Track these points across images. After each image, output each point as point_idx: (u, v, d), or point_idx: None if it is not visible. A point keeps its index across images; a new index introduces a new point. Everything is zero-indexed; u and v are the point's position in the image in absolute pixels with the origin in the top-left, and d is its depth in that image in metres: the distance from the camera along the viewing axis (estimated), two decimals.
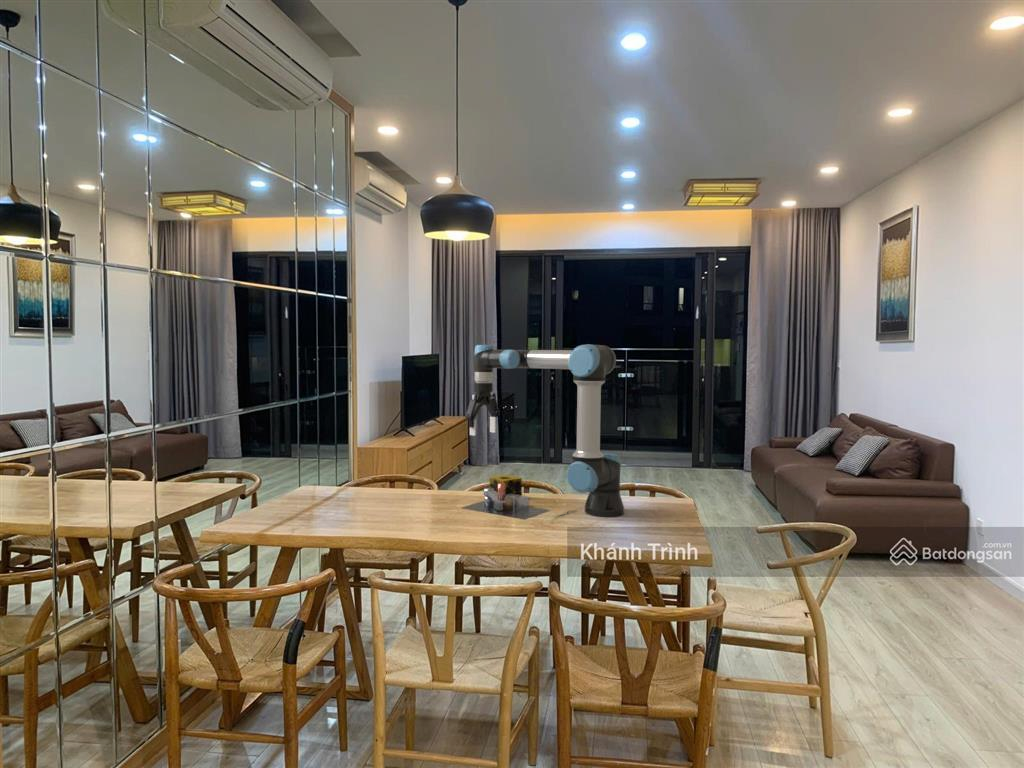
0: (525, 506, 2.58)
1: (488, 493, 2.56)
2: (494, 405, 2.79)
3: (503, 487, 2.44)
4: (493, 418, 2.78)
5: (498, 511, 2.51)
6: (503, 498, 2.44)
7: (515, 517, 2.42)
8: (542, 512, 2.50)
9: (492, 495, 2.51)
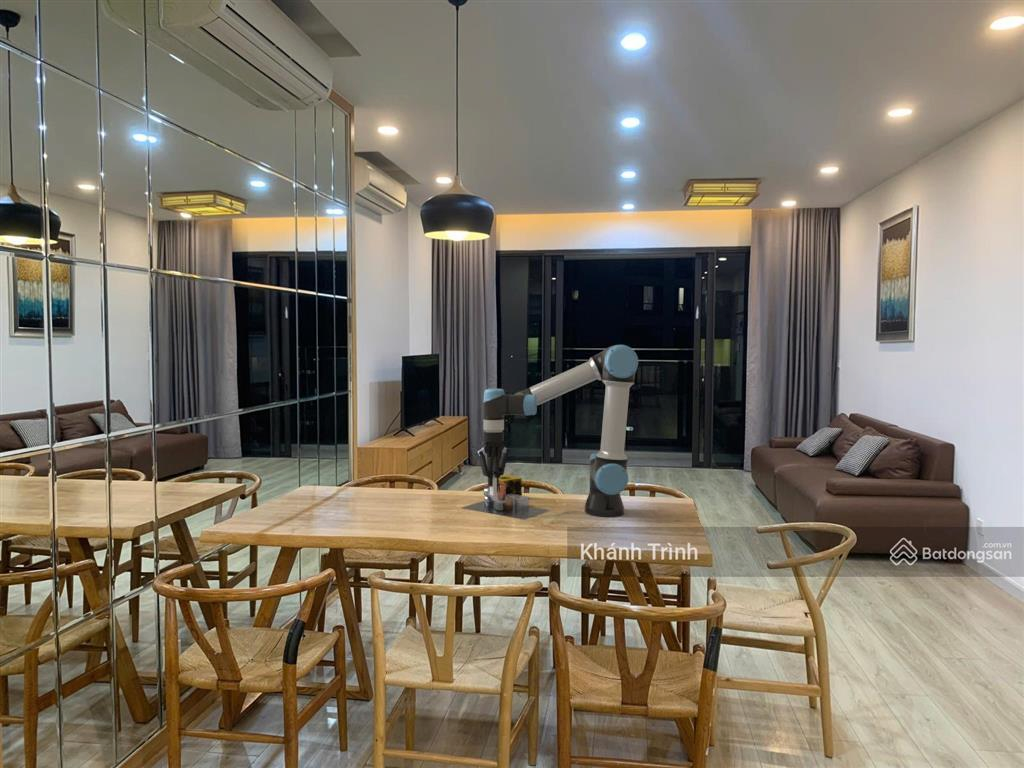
0: (525, 506, 2.58)
1: (488, 493, 2.56)
2: (502, 461, 2.45)
3: (503, 487, 2.44)
4: None
5: (498, 511, 2.51)
6: (503, 498, 2.44)
7: (515, 517, 2.42)
8: (542, 512, 2.50)
9: None
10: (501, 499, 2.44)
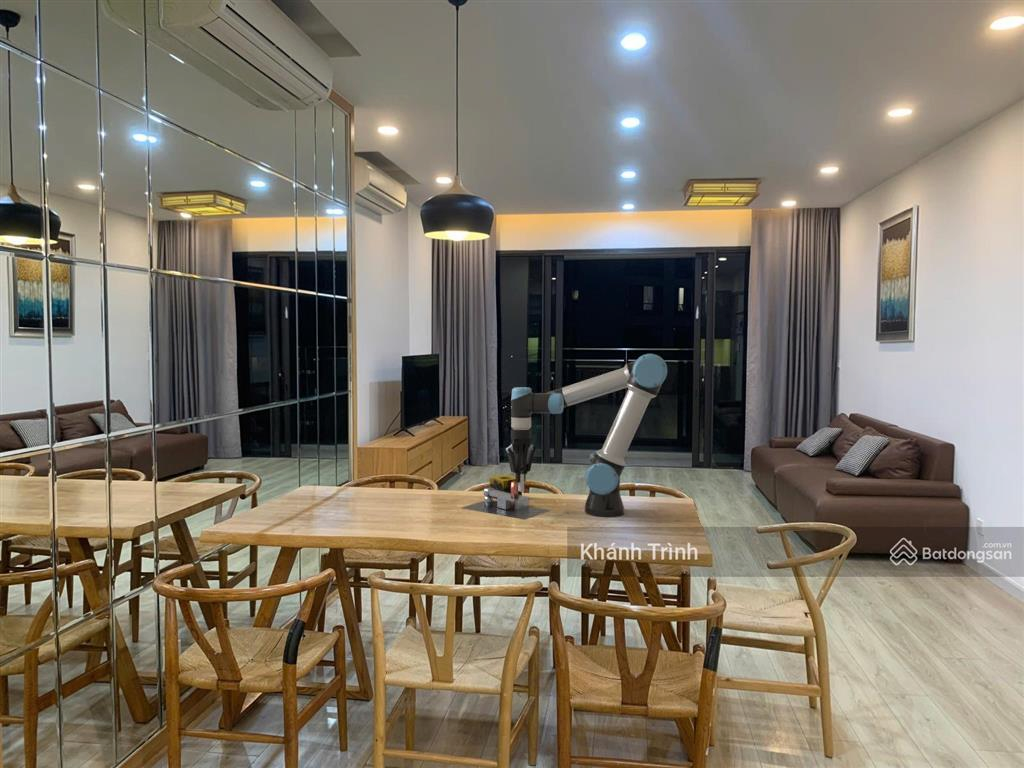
0: (525, 506, 2.58)
1: (491, 493, 2.56)
2: (529, 458, 2.52)
3: (517, 485, 2.47)
4: None
5: (498, 511, 2.51)
6: (517, 496, 2.48)
7: (515, 517, 2.42)
8: (542, 512, 2.50)
9: (500, 494, 2.53)
10: (515, 497, 2.47)
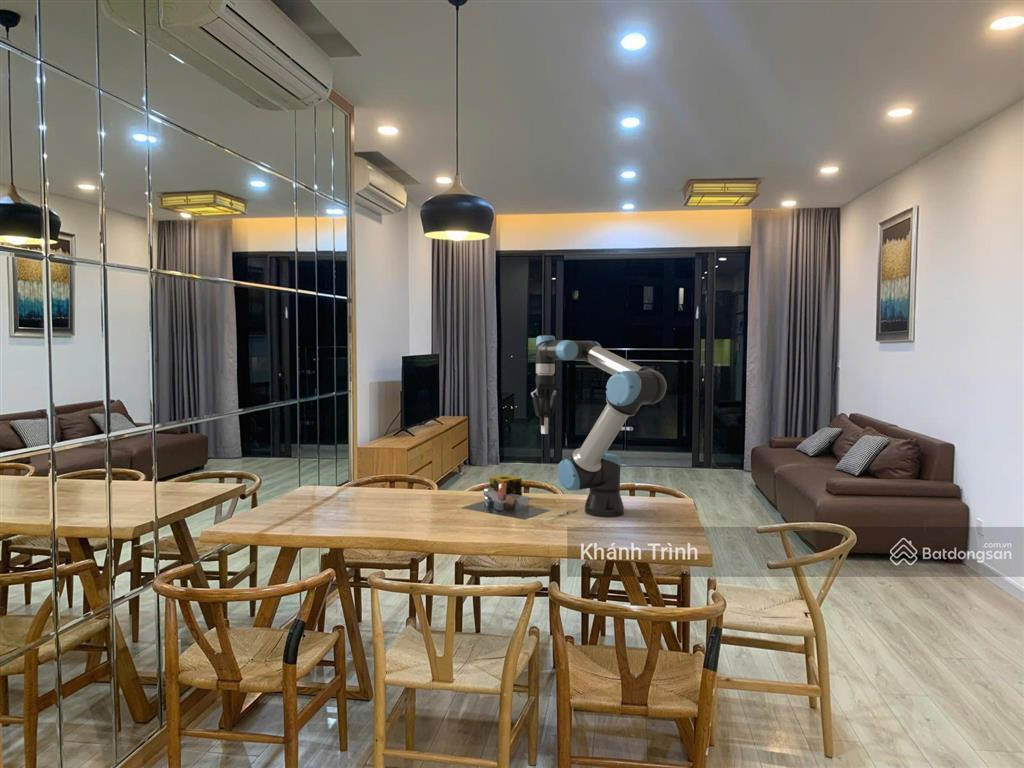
0: (525, 506, 2.58)
1: (488, 493, 2.56)
2: (552, 403, 2.66)
3: (504, 487, 2.44)
4: None
5: (498, 511, 2.51)
6: (504, 498, 2.44)
7: (515, 517, 2.42)
8: (542, 512, 2.50)
9: (492, 495, 2.52)
10: (502, 499, 2.44)
